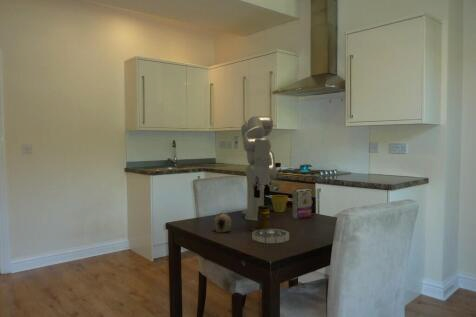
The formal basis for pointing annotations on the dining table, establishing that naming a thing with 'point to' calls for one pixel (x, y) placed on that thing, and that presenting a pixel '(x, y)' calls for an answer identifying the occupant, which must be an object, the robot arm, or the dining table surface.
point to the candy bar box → (302, 203)
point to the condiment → (263, 218)
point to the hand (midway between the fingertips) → (262, 196)
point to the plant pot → (279, 202)
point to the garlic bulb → (222, 222)
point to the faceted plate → (270, 235)
